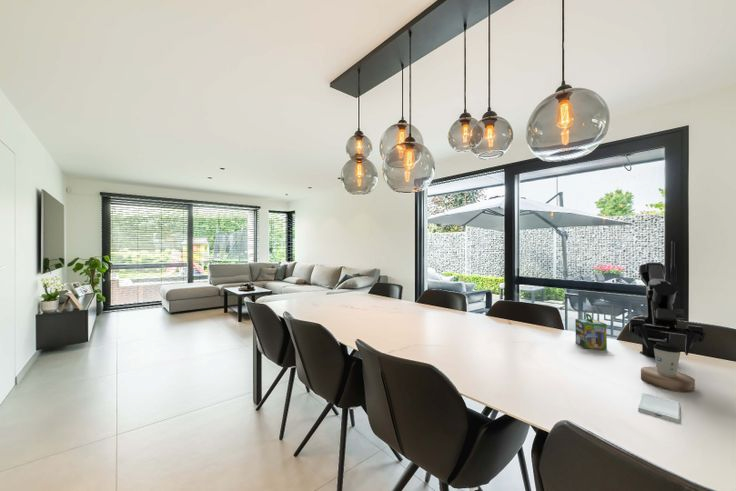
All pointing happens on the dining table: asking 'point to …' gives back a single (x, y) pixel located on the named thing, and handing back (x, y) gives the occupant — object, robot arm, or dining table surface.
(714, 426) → the dining table surface
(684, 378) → the podium
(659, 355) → the coffee cup
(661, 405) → the hard drive
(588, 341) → the chalk box
